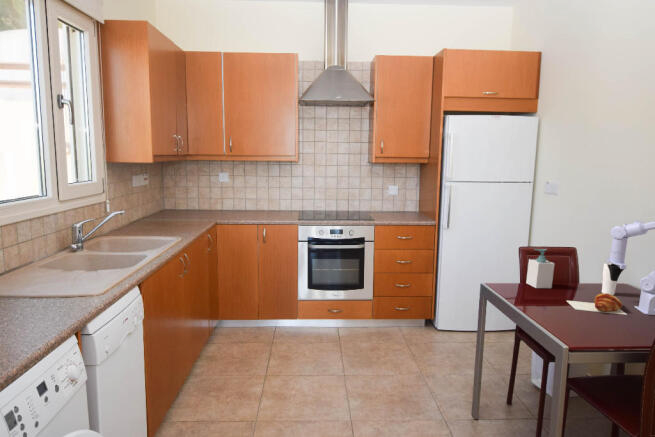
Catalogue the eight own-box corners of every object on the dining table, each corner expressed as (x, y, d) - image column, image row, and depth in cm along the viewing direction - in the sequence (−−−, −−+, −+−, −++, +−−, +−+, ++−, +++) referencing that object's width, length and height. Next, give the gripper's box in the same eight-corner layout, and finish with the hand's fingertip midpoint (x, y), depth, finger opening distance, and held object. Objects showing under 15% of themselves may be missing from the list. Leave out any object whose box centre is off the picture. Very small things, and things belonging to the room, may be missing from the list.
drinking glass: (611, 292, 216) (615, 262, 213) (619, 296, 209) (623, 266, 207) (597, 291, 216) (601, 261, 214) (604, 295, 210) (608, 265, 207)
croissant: (607, 309, 199) (600, 292, 201) (631, 304, 192) (624, 287, 194) (590, 317, 185) (583, 299, 187) (615, 313, 178) (607, 294, 180)
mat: (627, 314, 183) (627, 314, 183) (575, 309, 187) (575, 309, 187) (614, 305, 194) (614, 305, 194) (566, 300, 198) (566, 300, 198)
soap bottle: (525, 283, 225) (529, 247, 222) (541, 283, 226) (545, 247, 223) (535, 288, 216) (539, 250, 214) (551, 288, 218) (556, 251, 215)
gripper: (601, 248, 207) (597, 275, 209) (615, 254, 193) (611, 284, 195) (618, 249, 206) (614, 277, 208) (633, 255, 192) (628, 285, 193)
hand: (613, 280), depth 201 cm, fingers closed
